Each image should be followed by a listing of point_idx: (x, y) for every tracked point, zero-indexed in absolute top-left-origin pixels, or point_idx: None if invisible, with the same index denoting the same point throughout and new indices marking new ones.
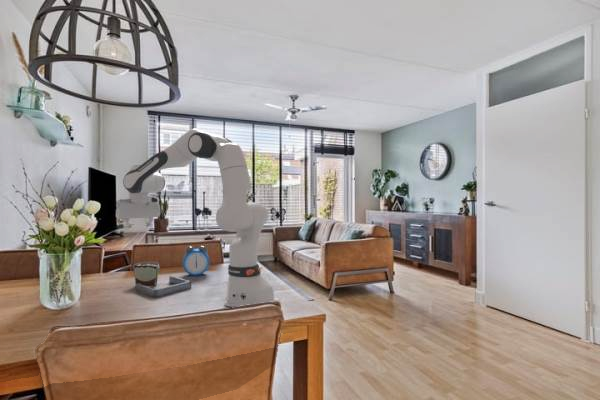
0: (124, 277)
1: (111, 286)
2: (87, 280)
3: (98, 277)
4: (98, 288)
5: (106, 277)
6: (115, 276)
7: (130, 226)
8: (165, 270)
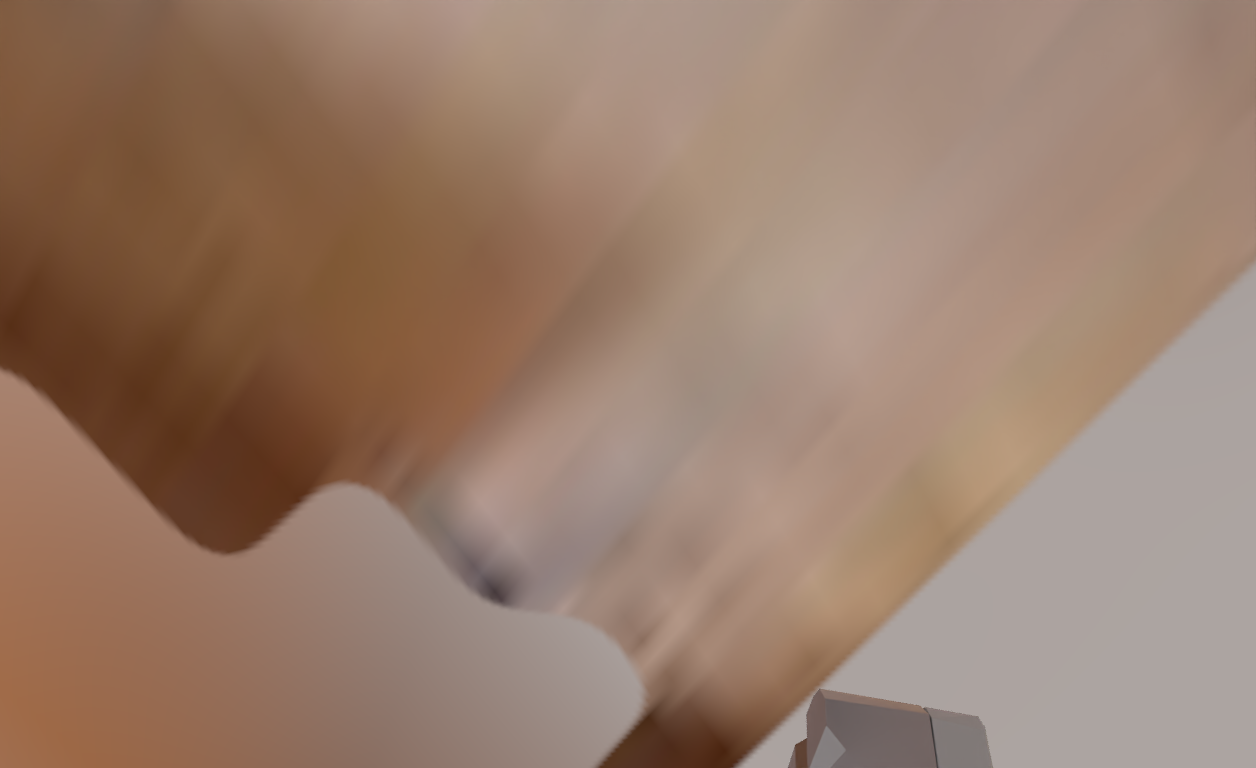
0: (642, 283)
1: (1088, 11)
2: (957, 538)
3: (802, 546)
4: (1237, 89)
5: (758, 473)
6: (669, 423)
7: (879, 744)
8: (23, 90)
